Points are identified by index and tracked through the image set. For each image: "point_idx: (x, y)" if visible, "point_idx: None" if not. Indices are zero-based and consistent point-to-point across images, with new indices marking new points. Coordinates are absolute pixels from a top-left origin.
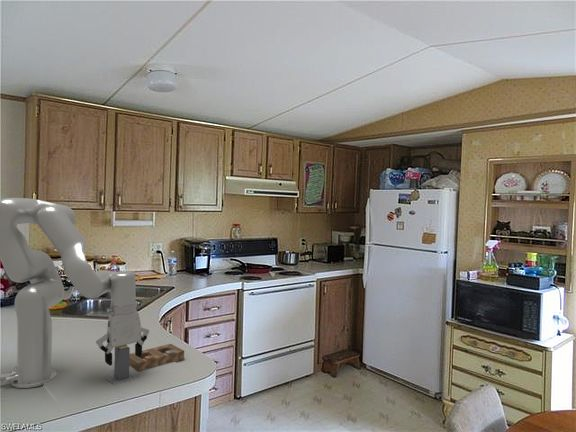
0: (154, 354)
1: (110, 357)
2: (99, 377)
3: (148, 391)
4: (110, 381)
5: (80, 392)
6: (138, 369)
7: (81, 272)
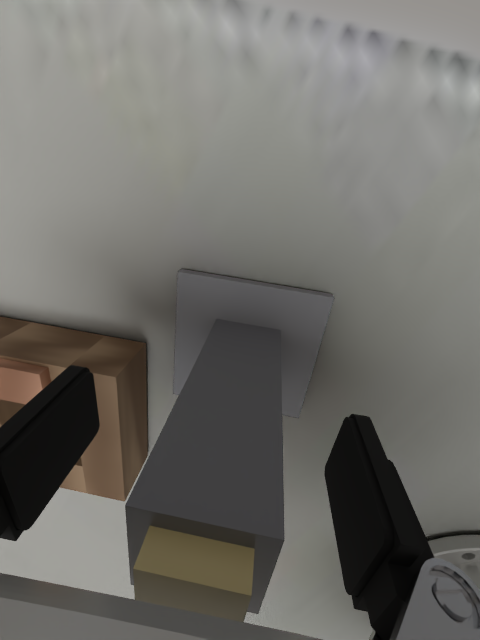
0: None
1: (397, 489)
2: (299, 438)
3: (221, 38)
4: (315, 354)
5: (474, 377)
6: (132, 353)
7: None
